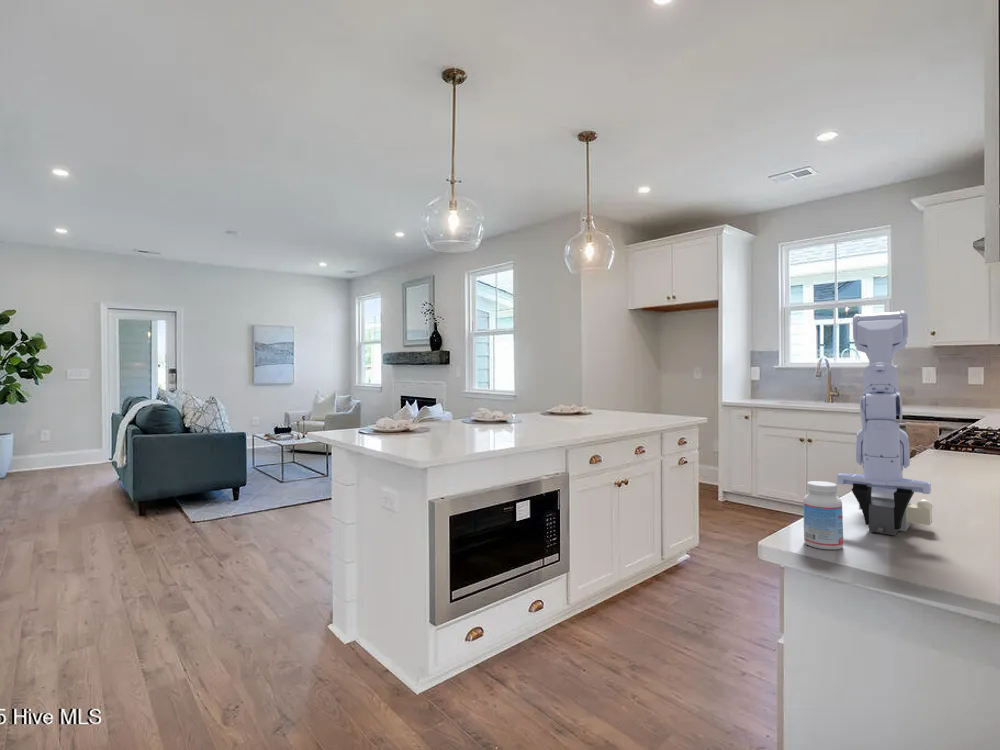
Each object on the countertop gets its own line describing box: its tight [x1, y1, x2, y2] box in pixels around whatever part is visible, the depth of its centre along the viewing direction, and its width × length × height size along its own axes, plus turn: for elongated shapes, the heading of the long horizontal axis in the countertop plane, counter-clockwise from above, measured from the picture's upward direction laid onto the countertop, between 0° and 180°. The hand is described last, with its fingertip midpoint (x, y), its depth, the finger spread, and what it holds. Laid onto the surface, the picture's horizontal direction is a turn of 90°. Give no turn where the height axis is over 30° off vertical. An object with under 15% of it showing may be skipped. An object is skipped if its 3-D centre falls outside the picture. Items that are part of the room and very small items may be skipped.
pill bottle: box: [802, 480, 844, 551], centre depth 96 cm, size 6×6×11 cm
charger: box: [868, 500, 900, 536], centre depth 103 cm, size 9×4×5 cm, turn 135°
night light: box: [907, 499, 933, 526], centre depth 104 cm, size 3×4×4 cm
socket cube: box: [871, 491, 912, 532], centre depth 107 cm, size 6×6×6 cm
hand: (883, 525), depth 102 cm, fingers closed on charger, 4 cm apart
